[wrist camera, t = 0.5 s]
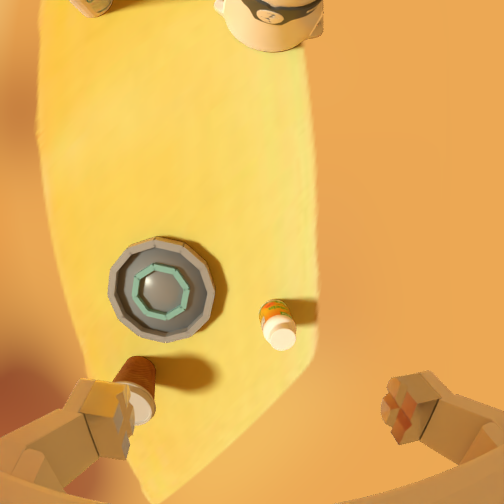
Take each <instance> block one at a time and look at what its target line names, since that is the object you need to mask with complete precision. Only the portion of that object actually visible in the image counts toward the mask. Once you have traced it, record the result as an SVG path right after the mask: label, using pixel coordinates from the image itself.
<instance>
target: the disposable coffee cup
mask: <svg viewBox="0 0 504 504" xmlns="http://www.w3.org/2000/svg"><path fill="white" fill-rule="evenodd" d="M155 375H156V370H155V367H154V365H153V364H152V363H151V361H149V360H148V359H146V358H144V357H141V356H134V357H130V358H129V359H128V360H127V361H126V363H125V364H124V365H123V367H122V368H121V370H120V371H119V373H118V374H117V376H116V377H115V379H114V380H113V382H114V383H122V384H127V385H128V386H129V388H130V392H131V397H130V400H129V402H130V403H131V404H132V405H133V407H134V413H135V425H142V424H145V423H146V422H148V421H149V420H150V419H151V418H152V417H153V416H154V414H155V411H156V405H155V402H154V394H155ZM135 425H134V426H135Z"/></svg>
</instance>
